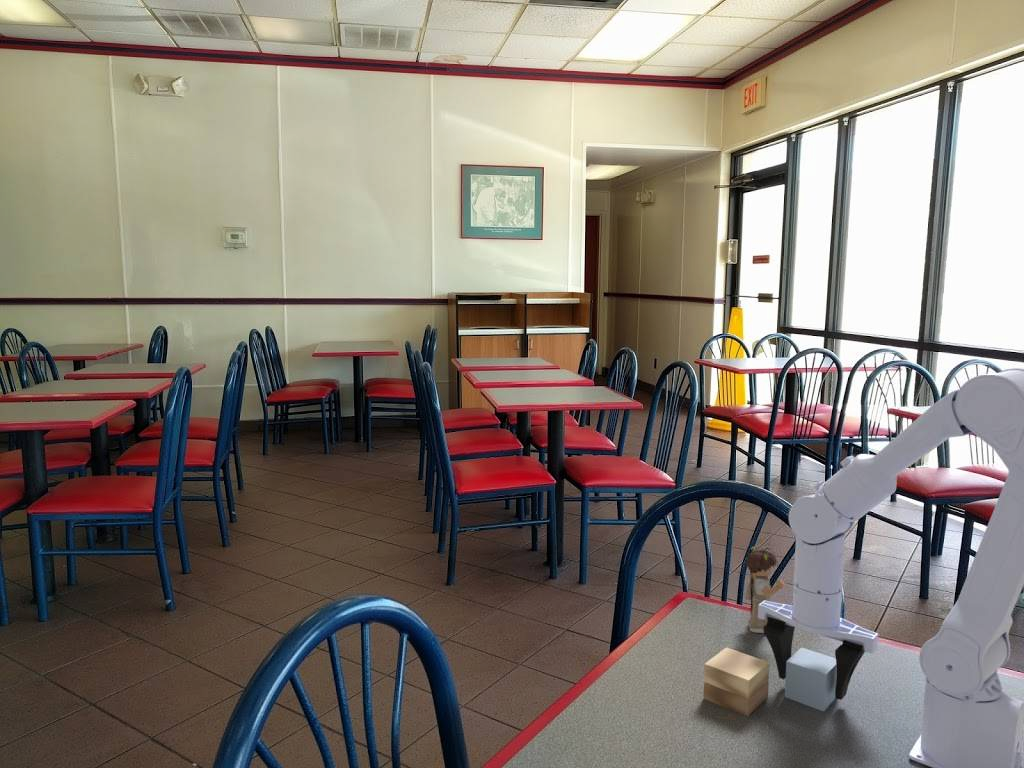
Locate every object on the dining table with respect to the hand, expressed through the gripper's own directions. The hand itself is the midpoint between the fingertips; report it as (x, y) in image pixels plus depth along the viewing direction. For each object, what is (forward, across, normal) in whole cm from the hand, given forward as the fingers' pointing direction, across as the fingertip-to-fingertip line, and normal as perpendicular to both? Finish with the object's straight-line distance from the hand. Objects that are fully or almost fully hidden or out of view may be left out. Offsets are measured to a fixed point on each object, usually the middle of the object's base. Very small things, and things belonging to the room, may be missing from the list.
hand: (811, 685), depth 96 cm
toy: (+2, +13, -14) cm, 19 cm away
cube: (+2, 0, 0) cm, 2 cm away
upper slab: (-1, +7, +7) cm, 10 cm away
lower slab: (+2, +7, +7) cm, 10 cm away
